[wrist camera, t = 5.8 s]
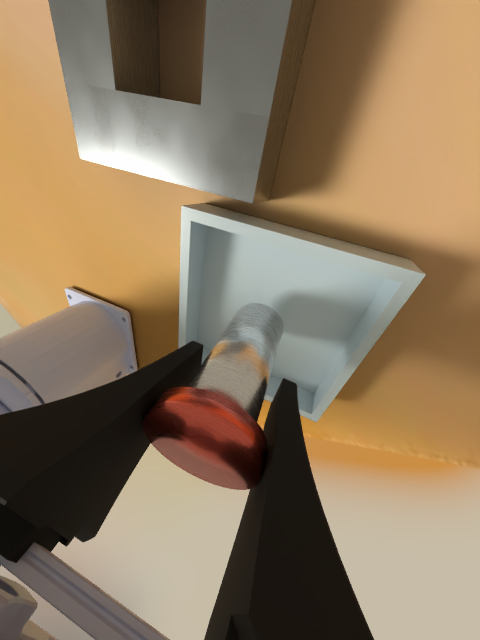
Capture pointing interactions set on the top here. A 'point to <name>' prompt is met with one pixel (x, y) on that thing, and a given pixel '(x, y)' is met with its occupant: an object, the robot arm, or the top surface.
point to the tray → (289, 295)
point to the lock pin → (222, 405)
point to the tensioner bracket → (174, 116)
